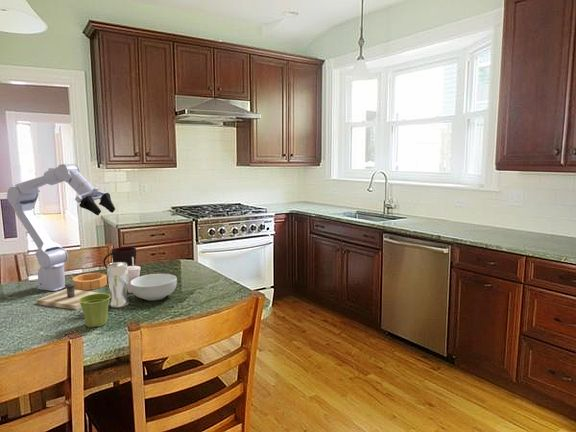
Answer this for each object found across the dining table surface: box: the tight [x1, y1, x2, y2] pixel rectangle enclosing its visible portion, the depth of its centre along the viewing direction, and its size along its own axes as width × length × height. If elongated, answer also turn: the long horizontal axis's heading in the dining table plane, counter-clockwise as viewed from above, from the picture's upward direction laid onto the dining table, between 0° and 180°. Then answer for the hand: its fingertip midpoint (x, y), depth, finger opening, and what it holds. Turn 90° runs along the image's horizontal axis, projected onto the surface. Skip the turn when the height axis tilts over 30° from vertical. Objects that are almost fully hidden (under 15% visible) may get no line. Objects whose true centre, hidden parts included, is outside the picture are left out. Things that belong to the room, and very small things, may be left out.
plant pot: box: [78, 292, 111, 328], centre depth 137 cm, size 9×9×9 cm
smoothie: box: [127, 257, 142, 294], centre depth 169 cm, size 6×6×14 cm
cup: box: [102, 246, 137, 270], centre depth 190 cm, size 10×14×12 cm
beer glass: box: [106, 262, 130, 308], centre depth 154 cm, size 7×7×15 cm
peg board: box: [35, 282, 105, 310], centre depth 159 cm, size 18×14×6 cm
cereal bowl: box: [130, 273, 178, 301], centre depth 163 cm, size 17×17×7 cm
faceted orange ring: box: [71, 272, 108, 291], centre depth 177 cm, size 12×12×4 cm
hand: (106, 212), depth 161 cm, fingers open, 7 cm apart
